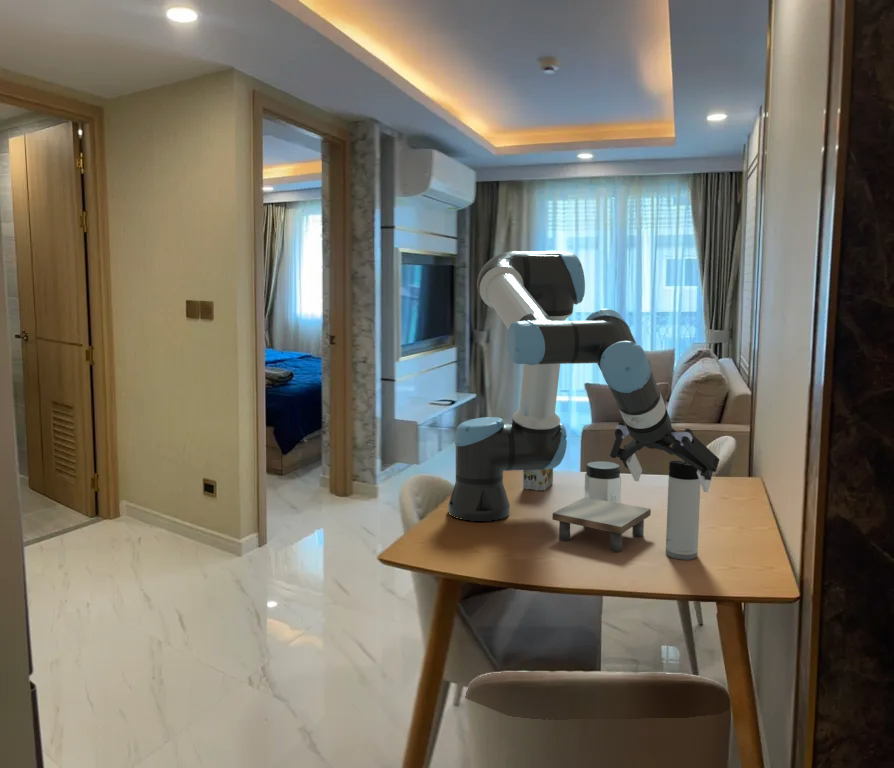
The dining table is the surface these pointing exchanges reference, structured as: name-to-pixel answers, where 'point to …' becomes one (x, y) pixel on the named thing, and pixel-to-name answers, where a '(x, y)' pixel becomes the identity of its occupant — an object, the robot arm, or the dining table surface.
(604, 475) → the jar
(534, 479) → the coffee box
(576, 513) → the peg shelf
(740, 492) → the dining table surface
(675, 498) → the travel mug
